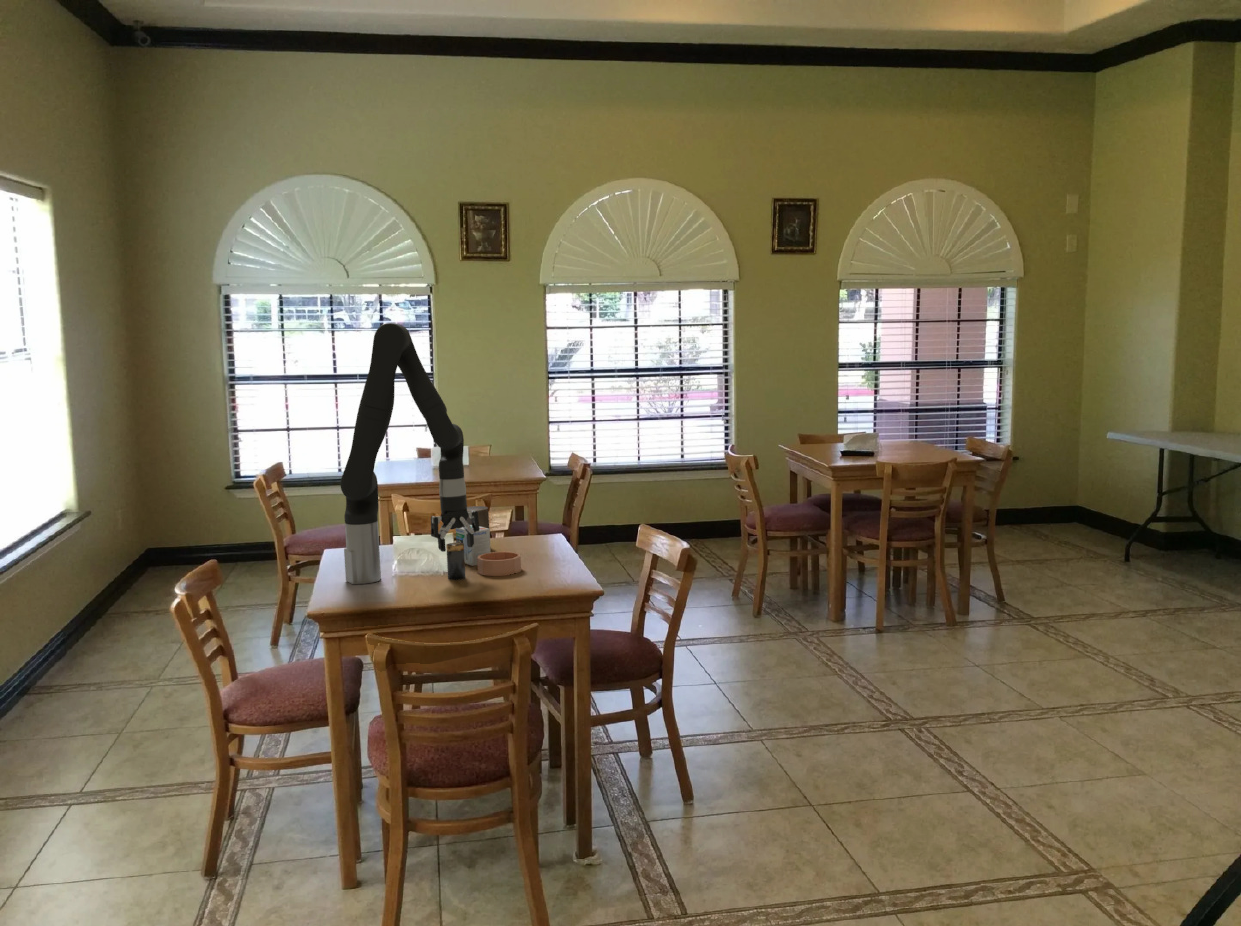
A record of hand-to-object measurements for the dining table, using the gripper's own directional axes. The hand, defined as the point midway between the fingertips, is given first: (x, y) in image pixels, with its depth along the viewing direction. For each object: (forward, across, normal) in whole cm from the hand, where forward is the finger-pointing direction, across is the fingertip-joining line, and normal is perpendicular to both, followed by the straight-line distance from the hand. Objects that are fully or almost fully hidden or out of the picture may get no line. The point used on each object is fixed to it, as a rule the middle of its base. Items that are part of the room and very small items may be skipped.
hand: (456, 549), depth 293 cm
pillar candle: (+9, +23, +34) cm, 42 cm away
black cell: (+9, 0, 0) cm, 9 cm away
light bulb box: (+9, +14, +17) cm, 24 cm away
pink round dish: (+9, +14, 0) cm, 16 cm away
